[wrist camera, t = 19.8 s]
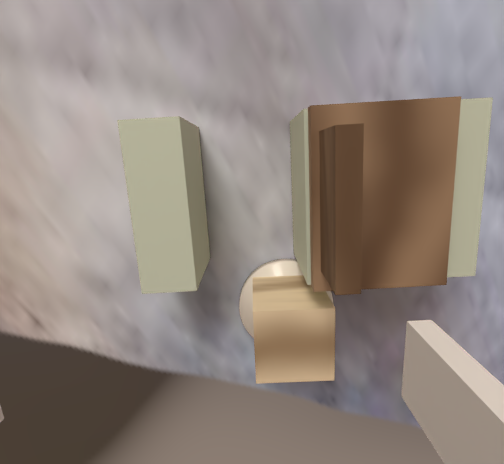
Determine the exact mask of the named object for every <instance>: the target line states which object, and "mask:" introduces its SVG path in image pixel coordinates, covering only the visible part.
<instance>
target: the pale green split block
mask: <svg viewBox="0 0 504 464" xmlns="http://www.w3.org/2000/svg"><path fill="white" fill-rule="evenodd" d="M492 100H493V98H476V99H461V106H460V119H459V131H458V144H457V157H456V169H455V182H454V194H453V207H452V220H451V232H450V245H449V258H448V270H447V277H462V276H475V272H476V262H477V251H478V241H479V231H480V221H481V211H482V201H483V191H484V181H485V171H486V161H487V151H488V141H489V131H490V121H491V110H492ZM117 121H118V128H119V135H120V143H121V150H122V157H123V164H124V171H125V178H126V185H127V192H128V199H129V206H130V213H131V220H132V227H133V234H134V242H135V249H136V256H137V263H138V270H139V277H140V284H141V291H142V294H147V293H166V292H184V291H197V289H198V287H199V284H200V282H201V279H202V277H203V275H204V272H205V270H206V267H207V265H208V262H209V260H210V248H209V237H208V225H207V214H206V203H205V192H204V181H203V169H202V158H201V147H200V136H199V127H197V126H196V125H194V124H192V123H190V122H188V121H187V120H185V119H183V118H181V117H179V116H178V117H162V118H145V119H129V120H117ZM290 148H291V181H292V214H293V247H294V255H295V257H296V260H297V262H298V264H299V266H300V269H301V271H302V273H303V276H304V278H305V280H306V283H307V285H311V254H310V200H309V145H308V109H303V110H302V111H301V112H300V113H299V114H298V115H297V116H295V117H294V118H293V119H292V120H291V121H290Z"/></svg>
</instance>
